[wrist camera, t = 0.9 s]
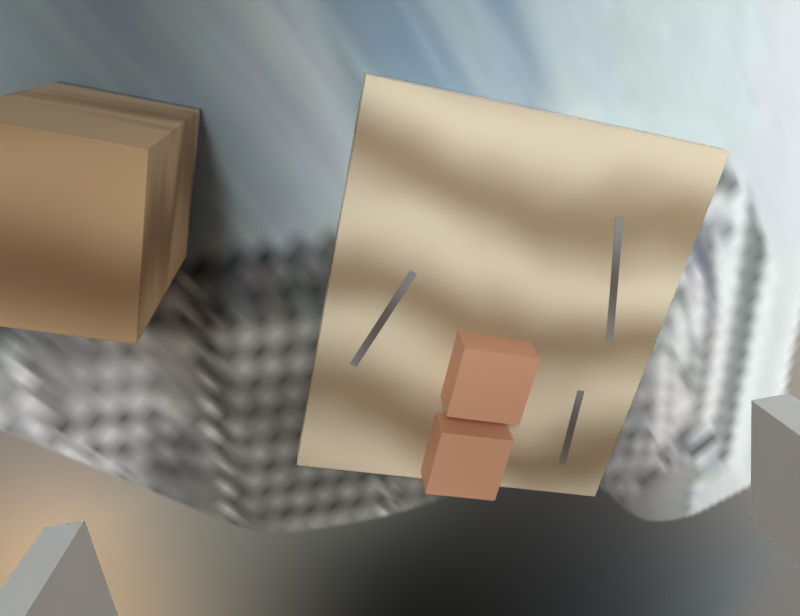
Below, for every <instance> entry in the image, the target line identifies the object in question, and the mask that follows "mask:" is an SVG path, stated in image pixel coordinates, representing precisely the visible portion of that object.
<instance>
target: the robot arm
mask: <svg viewBox="0 0 800 616" xmlns="http://www.w3.org/2000/svg"><path fill="white" fill-rule="evenodd" d="M751 520H752V521H753V522H754V523H755V524H756V525H757V526H758V527H759V528H760V529H761V530H762V531H763V532H764V533H765V534H766V535H767V536H768V537H769V538H770V539H771V540H772V541H773V542H774V543H775V544H776V545H777V546H778V547H779V548H780V549H781V550H782V551H783V552H784V553H785V554H786V556H788V558H789V559H790V560H791V561H792V562H793V563H794V564H795V565H796V566H797V567H798V568H799V569H800V400H798V399H797V398H795V397H794V396H792V395H791V394H785V395H779V396H774V397H768V398H763V399H757V400H752V418H751ZM0 616H118V615H117V612H116V609H115V606H114V604H113V600H112V598H111V595H110V592H109V589H108V586H107V583H106V581H105V578H104V575H103V572H102V569H101V566H100V563H99V561H98V558H97V555H96V552H95V549H94V546H93V543H92V541H91V538H90V535H89V532H88V529H87V526H86V524H85V521H78V522H73V523H67V524H61V525H56V526H50V527H45V528H44V529H43V530H42V531H41V533H40V535H39V536H38V537H37V538H36V540H35V541H34V543H33V544H32V546H31V547H30V548H29V550H28V551H27V553H26V554H25V556H24V557H23V558H22V560H21V561H20V562H19V564H18V566H17V567H16V568H15V570H14V571H13V572H12V574H11V575H10V577H9V578H8V580H7V581H6V582H5V584H4V585H3V587H2V588H1V589H0Z"/></svg>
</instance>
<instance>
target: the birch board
mask: <svg viewBox="0 0 800 616" xmlns="http://www.w3.org/2000/svg"><path fill="white" fill-rule="evenodd" d="M729 154H730V151H727V150H724V149H721V148H718V147H714V146H709V145H705V144H700V143H695V142H691V141H686V140H681V139H676V138H672V137H667V136H662V135H658V134H653V133H648V132H643V131H639V130H634V129H629V128H625V127H620V126H615V125H610V124H606V123H601V122H596V121H592V120H587V119H582V118H577V117H573V116H568V115H563V114H559V113H554V112H549V111H544V110H540V109H535V108H530V107H526V106H521V105H516V104H511V103H507V102H502V101H497V100H493V99H488V98H483V97H478V96H474V95H469V94H464V93H460V92H455V91H450V90H445V89H441V88H436V87H431V86H427V85H422V84H417V83H412V82H408V81H403V80H398V79H394V78H389V77H384V76H379V75H375V74H370V73H365V74H364V80H363V86H362V91H361V97H360V103H359V108H358V114H357V120H356V125H355V131H354V137H353V142H352V148H351V153H350V159H349V165H348V170H347V176H346V182H345V187H344V193H343V199H342V204H341V210H340V216H339V221H338V227H337V233H336V238H335V244H334V249H333V255H332V261H331V266H330V272H329V278H328V283H327V289H326V295H325V300H324V306H323V312H322V317H321V323H320V328H319V334H318V340H317V345H316V351H315V357H314V362H313V368H312V374H311V379H310V385H309V391H308V396H307V402H306V408H305V413H304V419H303V424H302V430H301V436H300V441H299V447H298V453H297V465H299V466H309V467H318V468H328V469H337V470H347V471H357V472H366V473H376V474H385V475H395V476H404V477H414V478H422V476H421V467H422V463H423V459H424V455H425V452H426V448H427V444H428V440H429V437H430V433H431V429H432V425H433V421H434V418H435V414H436V412H441V413H445V411H444V407H443V404H442V401H441V397H440V395H441V391H442V387H443V384H444V380H445V376H446V372H447V369H448V365H449V361H450V357H451V353H452V350H453V346H454V342H455V338H456V335H457V331H462V332H469V333H476V334H483V335H490V336H497V337H503V338H510V339H517V340H524V341H530V343H531V344H532V346H533V348H534V349H535V351H536V352H537V354H538V356H539V357H540V363H539V366H538V369H537V372H536V375H535V378H534V381H533V384H532V387H531V390H530V394H529V397H528V400H527V403H526V406H525V409H524V412H523V415H522V418H521V421H520V424H519V425H512V424H507V426H508V429H509V431H510V433H511V435H512V437H513V440H514V443H513V446H512V449H511V452H510V455H509V459H508V462H507V465H506V468H505V471H504V474H503V477H502V480H501V483H500V487H510V488H519V489H529V490H538V491H548V492H557V493H567V494H577V495H587V496H595V494H596V492H597V490H598V487H599V484H600V482H601V479H602V477H603V474H604V472H605V469H606V467H607V464H608V462H609V459H610V456H611V454H612V451H613V449H614V446H615V444H616V441H617V439H618V436H619V434H620V431H621V428H622V426H623V423H624V421H625V418H626V416H627V413H628V411H629V408H630V406H631V403H632V400H633V398H634V395H635V393H636V390H637V388H638V385H639V383H640V380H641V378H642V375H643V372H644V370H645V367H646V365H647V362H648V360H649V357H650V355H651V352H652V350H653V347H654V344H655V342H656V339H657V337H658V334H659V332H660V329H661V327H662V324H663V322H664V319H665V316H666V314H667V311H668V309H669V306H670V304H671V301H672V299H673V296H674V294H675V291H676V288H677V286H678V283H679V281H680V278H681V276H682V273H683V271H684V268H685V266H686V263H687V260H688V258H689V255H690V253H691V250H692V248H693V245H694V243H695V240H696V238H697V235H698V232H699V230H700V227H701V225H702V222H703V220H704V217H705V215H706V212H707V210H708V207H709V204H710V202H711V199H712V197H713V194H714V192H715V189H716V187H717V184H718V182H719V179H720V176H721V174H722V171H723V169H724V166H725V164H726V161H727V159H728V156H729Z"/></svg>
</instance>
